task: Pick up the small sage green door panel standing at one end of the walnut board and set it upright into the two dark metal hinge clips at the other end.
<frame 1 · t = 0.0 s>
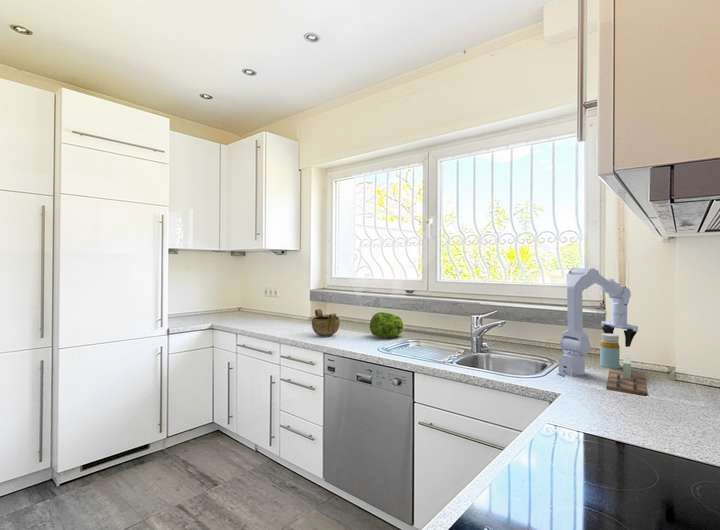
hand: (618, 344, 167), 10 cm above the worktop, tool pointing down, fingers open, 7 cm apart
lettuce: (388, 337, 230), on the worktop
door panel: (626, 375, 152), point 1 cm above the worktop, touching hinge board
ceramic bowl: (325, 335, 234), on the worktop
hinge board: (626, 383, 146), on the worktop
bottle: (609, 369, 165), on the worktop
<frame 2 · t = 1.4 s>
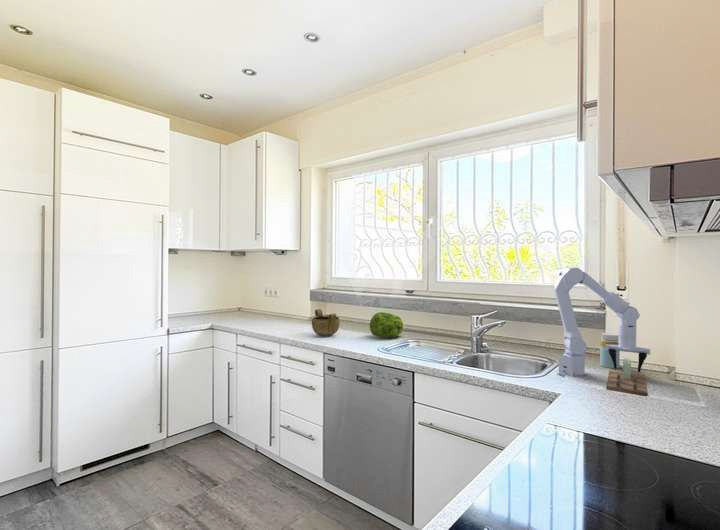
hand: (627, 370, 152), 4 cm above the worktop, tool pointing down, fingers open, 7 cm apart
nothing on the worktop moved.
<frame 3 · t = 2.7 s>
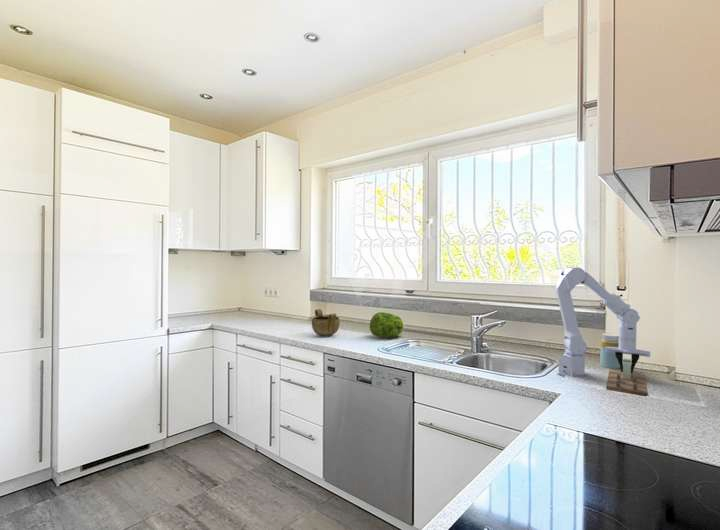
hand: (626, 372, 152), 3 cm above the worktop, tool pointing down, fingers closed on door panel, 2 cm apart
door panel: (626, 375, 152), point 1 cm above the worktop, touching gripper, hinge board
everything else where it was.
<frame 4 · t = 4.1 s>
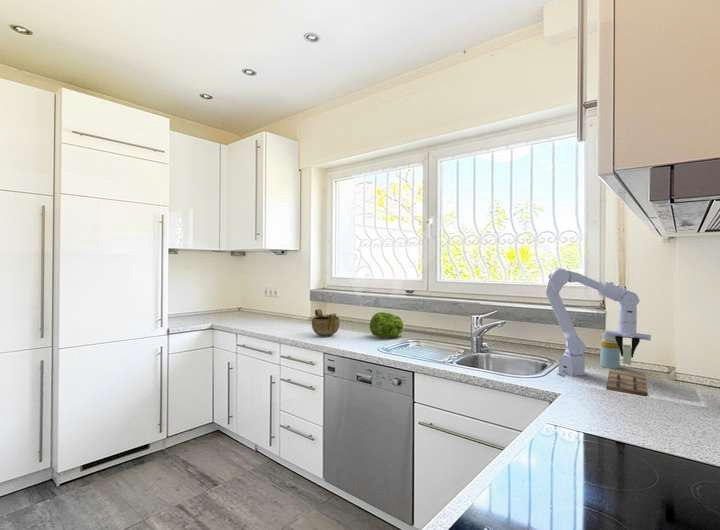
hand: (626, 356, 150), 10 cm above the worktop, tool pointing down, fingers closed on door panel, 2 cm apart
door panel: (626, 361, 150), point 8 cm above the worktop, touching gripper
everything else where it was.
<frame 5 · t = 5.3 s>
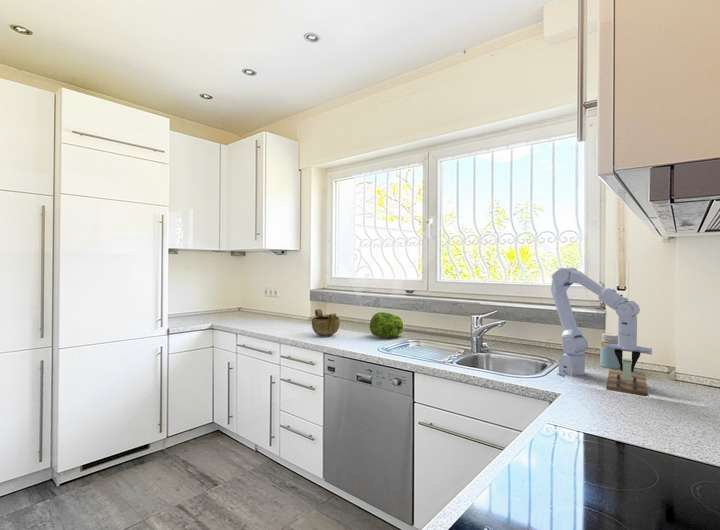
hand: (626, 370, 141), 6 cm above the worktop, tool pointing down, fingers closed on door panel, 2 cm apart
door panel: (626, 376, 141), point 4 cm above the worktop, touching gripper
everything else where it was.
when the fingers open (4 cm above the worktop, at t = 6.4 s): door panel stays where it is, resting on hinge board.
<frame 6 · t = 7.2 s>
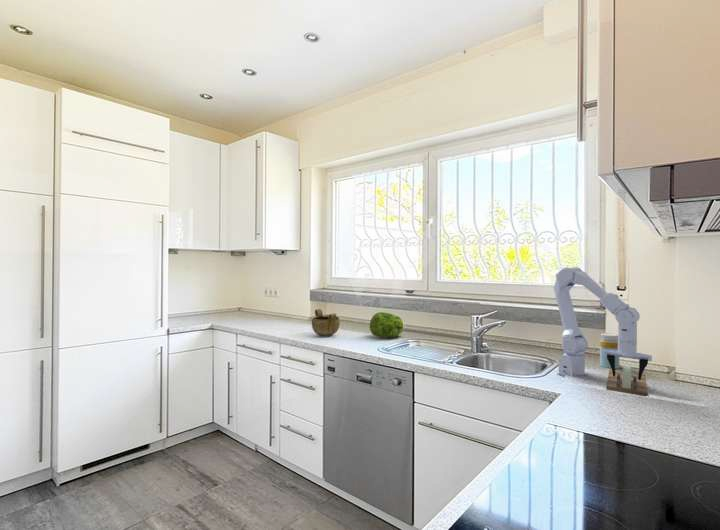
hand: (626, 377, 141), 4 cm above the worktop, tool pointing down, fingers open, 7 cm apart
door panel: (626, 384, 142), point 1 cm above the worktop, touching hinge board
everything else where it was.
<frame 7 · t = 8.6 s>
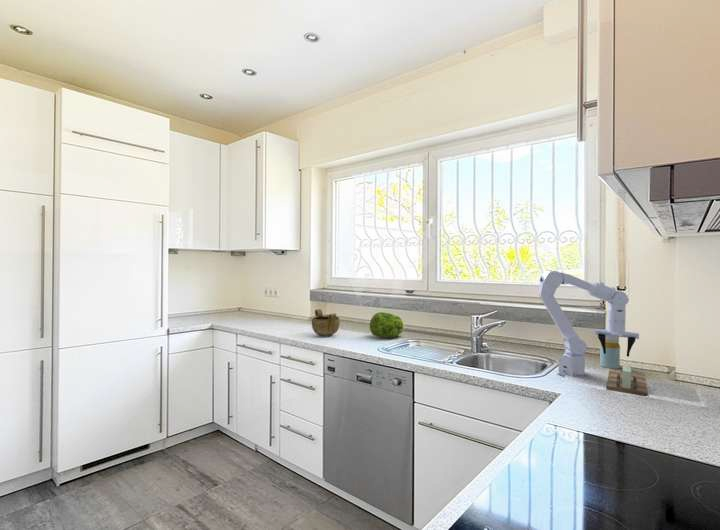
hand: (616, 354, 153), 9 cm above the worktop, tool pointing down, fingers open, 7 cm apart
nothing on the worktop moved.
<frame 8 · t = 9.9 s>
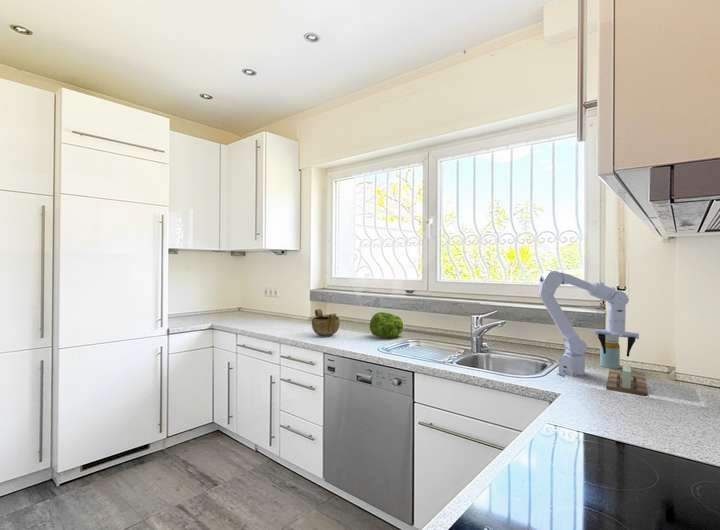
hand: (616, 354, 153), 9 cm above the worktop, tool pointing down, fingers open, 7 cm apart
nothing on the worktop moved.
at the end: door panel 0.2 cm from the target spot on the hinge board, point 1.2 cm above the hinge board's base; door panel tilted 0°; the gripper is holding nothing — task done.
